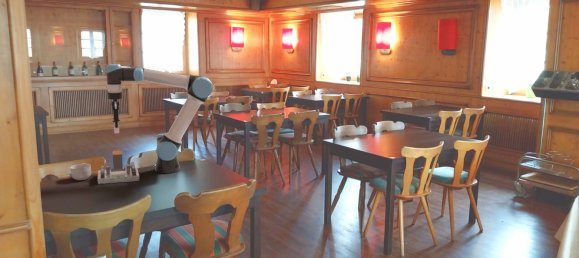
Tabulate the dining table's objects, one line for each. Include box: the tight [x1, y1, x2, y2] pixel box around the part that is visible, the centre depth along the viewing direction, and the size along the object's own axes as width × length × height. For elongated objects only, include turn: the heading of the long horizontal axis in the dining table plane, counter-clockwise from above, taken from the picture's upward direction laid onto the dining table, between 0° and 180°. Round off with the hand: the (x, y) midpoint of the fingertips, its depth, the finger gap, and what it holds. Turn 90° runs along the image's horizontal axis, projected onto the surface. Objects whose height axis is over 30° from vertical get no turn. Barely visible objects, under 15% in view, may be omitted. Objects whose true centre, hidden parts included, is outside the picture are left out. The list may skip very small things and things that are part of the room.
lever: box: [110, 150, 126, 172], centre depth 272 cm, size 8×2×12 cm, turn 112°
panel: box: [97, 163, 140, 185], centre depth 272 cm, size 22×18×7 cm
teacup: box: [69, 162, 92, 181], centre depth 270 cm, size 14×11×8 cm
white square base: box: [100, 161, 136, 178], centre depth 272 cm, size 19×19×4 cm
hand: (116, 133), depth 267 cm, fingers closed
